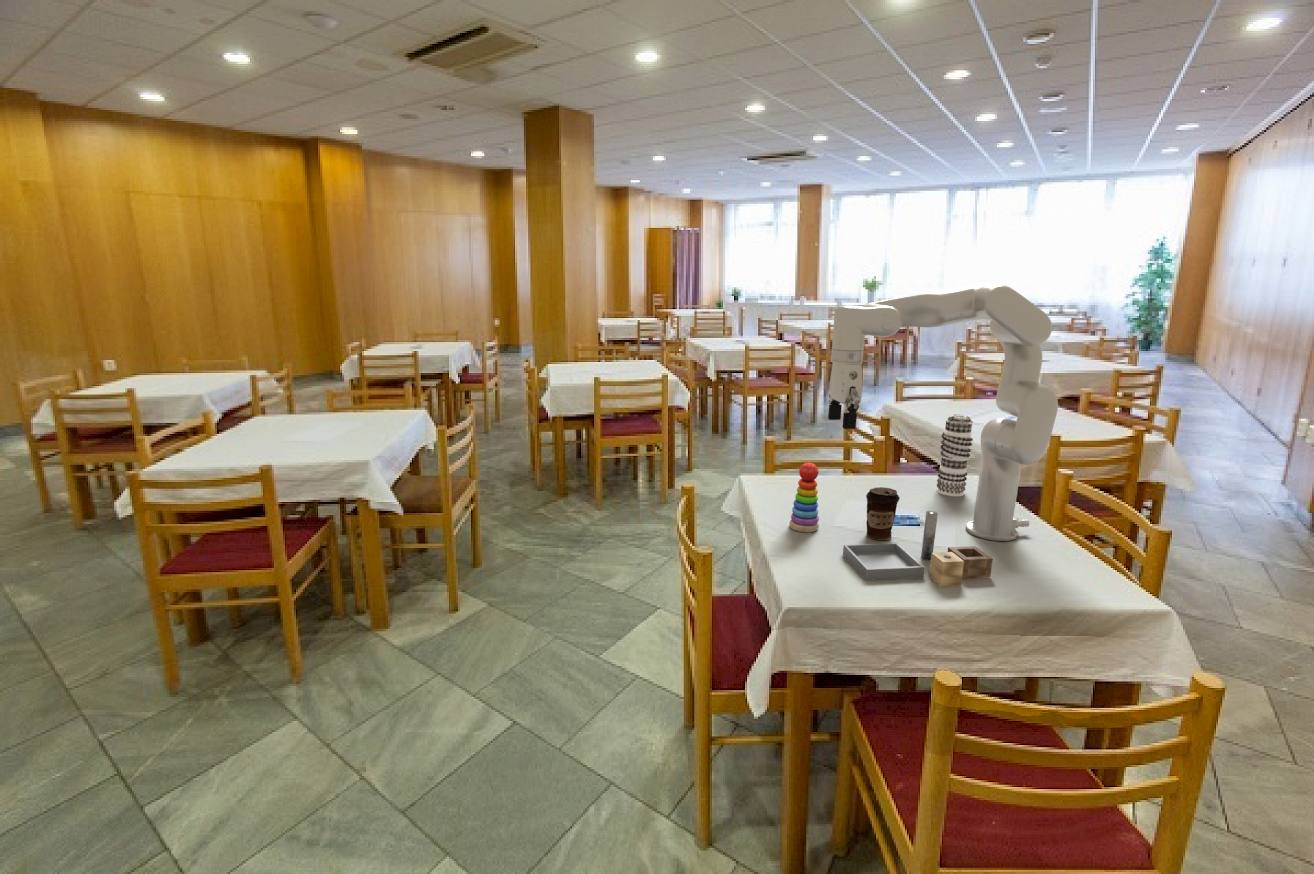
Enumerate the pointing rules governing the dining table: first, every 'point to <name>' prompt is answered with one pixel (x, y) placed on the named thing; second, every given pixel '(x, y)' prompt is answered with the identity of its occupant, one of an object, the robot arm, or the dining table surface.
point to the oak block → (946, 569)
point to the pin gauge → (929, 535)
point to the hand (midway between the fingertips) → (841, 424)
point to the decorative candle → (954, 455)
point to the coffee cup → (881, 512)
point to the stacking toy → (806, 501)
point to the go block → (973, 561)
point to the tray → (883, 561)
